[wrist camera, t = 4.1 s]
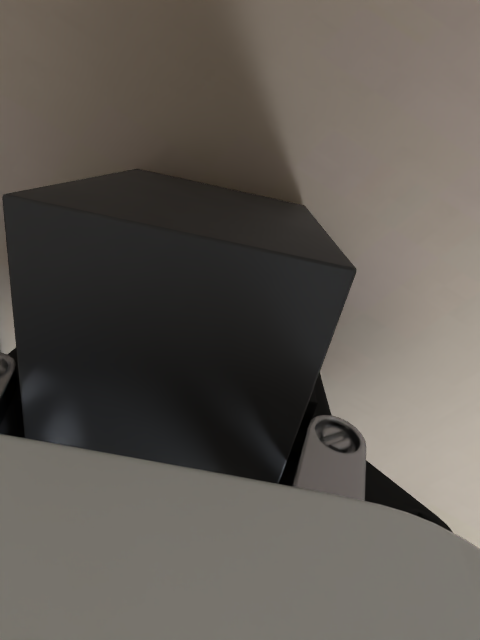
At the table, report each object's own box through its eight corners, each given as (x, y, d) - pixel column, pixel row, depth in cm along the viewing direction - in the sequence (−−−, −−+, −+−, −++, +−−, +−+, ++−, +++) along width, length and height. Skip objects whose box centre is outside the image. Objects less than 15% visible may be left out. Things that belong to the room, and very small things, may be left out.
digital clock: (130, 167, 10) (-12, 190, 5) (305, 205, 10) (358, 269, 5) (115, 427, 15) (32, 593, 9) (238, 449, 15) (228, 622, 9)
